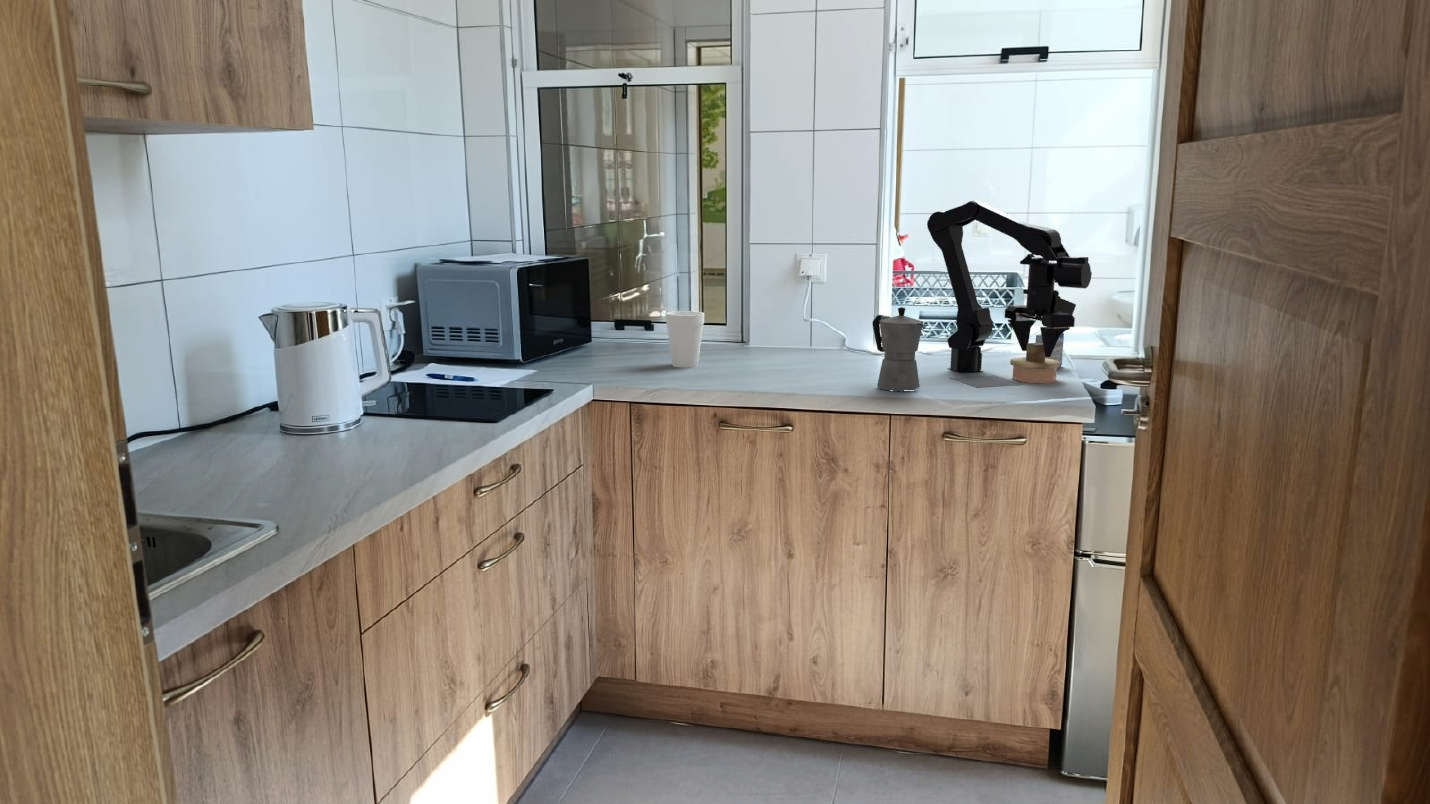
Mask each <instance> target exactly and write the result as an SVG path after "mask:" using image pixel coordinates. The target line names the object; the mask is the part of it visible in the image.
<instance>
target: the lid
mask: <svg viewBox="0 0 1430 804" xmlns="http://www.w3.org/2000/svg"><path fill="white" fill-rule="evenodd" d="M1025 352H1026V353H1025V354H1026V355H1025V356H1023V357H1013V358H1010V361H1009V364H1010V365H1011V366H1017V367H1023V368H1032V369H1053V368H1057V369H1059V368H1061V367H1060V364H1061V362H1059V361H1057V360H1053V359H1046V358H1045V353H1044V348H1043V344H1041V343H1035V342H1028V343H1027V351H1025Z"/></svg>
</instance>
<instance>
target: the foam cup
mask: <svg viewBox="0 0 1430 804" xmlns="http://www.w3.org/2000/svg"><path fill="white" fill-rule="evenodd" d="M665 324H666V327H667V328H666V329H667V333H668V335H667V336H668V343H669V349H670V357H671V358H670V359H671V364H672V367H675V368H679V369H680V368H682V369H683V368H685V369H687V368H697V367H698V366H699V359H700V353H701V352H700V351H701V343H702V336H703V329H704V324H705V312H701V311H693V310H673V311H668V312H666V313H665Z"/></svg>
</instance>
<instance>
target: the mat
mask: <svg viewBox="0 0 1430 804" xmlns="http://www.w3.org/2000/svg"><path fill="white" fill-rule="evenodd" d="M949 379H950V380H953V381H956V382H959V383H962V384H964V385H968V386H971V387H974V388H977V389H978V388H979V389H980V388H984V389H985V388H996V387H997V388H998V387H1010V386H1011V387H1012V386H1015V387H1016V386H1025V384H1024V383H1022V382H1021V383H1020V382H1019V381H1015V380H1012V379H1008V378H1004V377H1002V376H998V375H995V374H994V375H976V376H975V375H974V376H958V377H949Z"/></svg>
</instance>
